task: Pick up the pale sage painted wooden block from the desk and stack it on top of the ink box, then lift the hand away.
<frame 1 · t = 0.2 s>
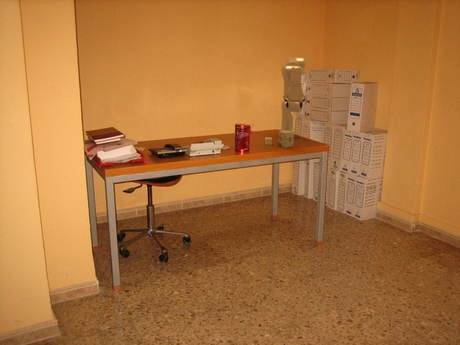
hand: (294, 108, 319), 31 cm above the table, fingers open, 9 cm apart
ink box: (285, 146, 336), on the table
sage block: (268, 144, 342), on the table
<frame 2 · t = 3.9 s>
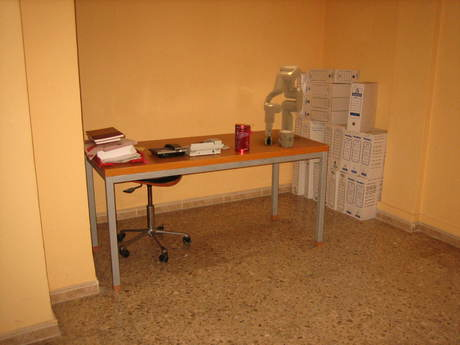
hand: (268, 143, 342), 1 cm above the table, fingers closed on sage block, 5 cm apart
sage block: (268, 144, 342), on the table, touching gripper
everything else where it was.
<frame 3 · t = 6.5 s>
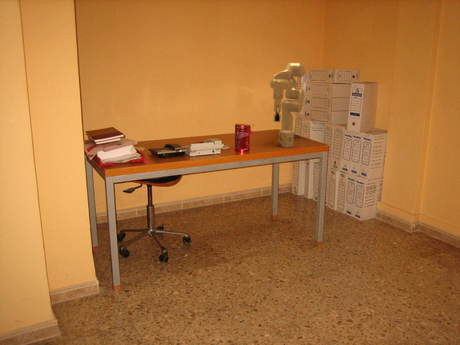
hand: (277, 120, 334), 19 cm above the table, fingers closed on sage block, 5 cm apart
sage block: (276, 121, 335), point 19 cm above the table, touching gripper
everything else where it was.
when the fingers open (14 cm above the table, at t = 8.7 s): sage block drops 2 cm, resting on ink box.
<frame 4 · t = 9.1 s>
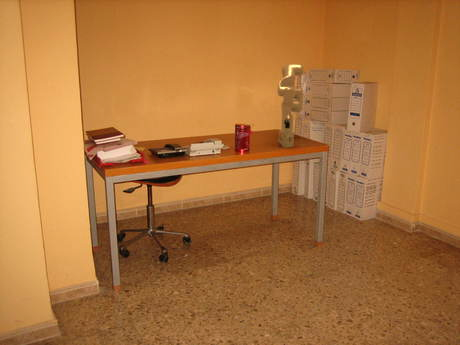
hand: (286, 127, 332), 15 cm above the table, fingers open, 8 cm apart
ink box: (285, 146, 336), on the table, touching sage block
sage block: (286, 131, 333), point 12 cm above the table, touching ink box
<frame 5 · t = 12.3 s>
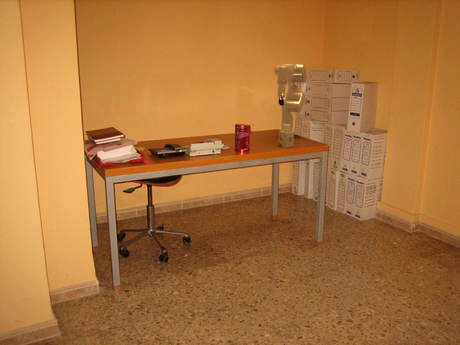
hand: (281, 104, 341), 30 cm above the table, fingers open, 9 cm apart
nothing on the table moved.
at the end: sage block 0.1 cm off-centre on the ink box, point 12.0 cm above the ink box's base; sage block tilted 0°; the gripper is holding nothing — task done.
